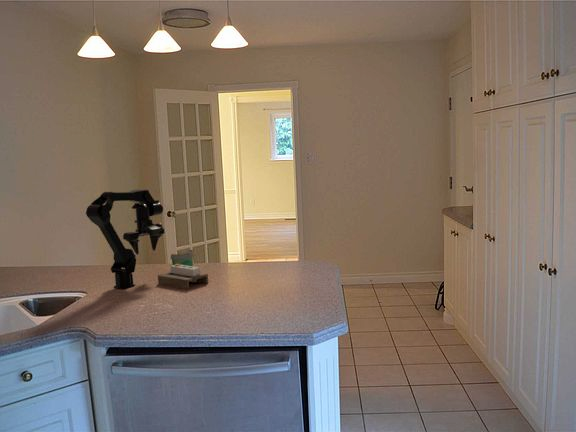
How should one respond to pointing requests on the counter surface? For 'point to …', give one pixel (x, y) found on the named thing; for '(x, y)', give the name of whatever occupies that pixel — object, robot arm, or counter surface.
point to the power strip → (185, 270)
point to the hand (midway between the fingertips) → (145, 252)
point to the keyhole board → (180, 279)
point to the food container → (183, 258)
